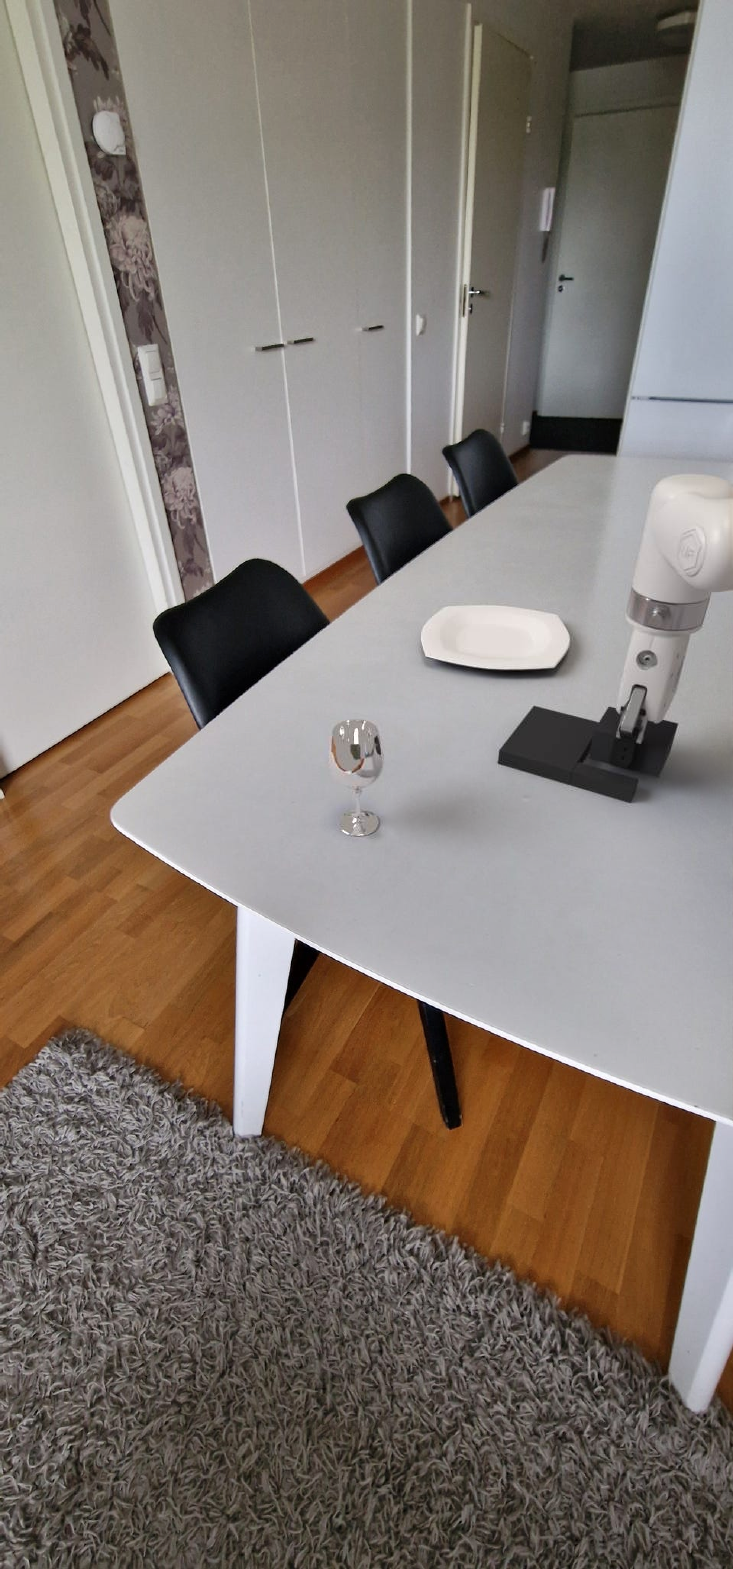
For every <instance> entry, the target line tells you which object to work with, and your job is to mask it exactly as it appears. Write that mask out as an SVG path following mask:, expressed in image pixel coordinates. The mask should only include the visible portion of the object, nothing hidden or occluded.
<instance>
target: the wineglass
mask: <svg viewBox="0 0 733 1569" xmlns="http://www.w3.org/2000/svg"><path fill="white" fill-rule="evenodd" d="M327 763H328V767H329V772H330V774H331V776H332V777H333V779H334V780H335V781H336V782H337V783H338V784H340V785H342V786H343V787H345V788H349V789H350V788H351V789H352V795H353V797H354V801H355V809H353V810H349V811H347V812H345V813H343V814H342V815H341V816H340V818H339V820H338V823H337V824H338V828H339V829H340V831H341V832H343V833H344V834H346V835H348V836H351V837H364V836H368V835H371V834H372V833H374V832H375V831H376V830H377V829H378V827H379V825H380V824H379V823H380V821H379V818H378V817H377V815H376V814H375V813H374V812H371V811H369V810H366V809H361V796H362V792H363V788H366V787H369V786H371V785H373V784H374V783H376V782H377V781H378V779H379V778H380V776H381V775H382V773H383V769H384V764H385V754H384V746H383V742H382V739H381V735H380V731H379V729H378V726H377V725H376V724H374V723H373V722H371V721H368V720H365V719H356V718H355V719H346V720H344V721H341V722H339V723H337V724H335V725H334V727H333V728H332V731H331V734H330V739H329V743H328V750H327Z"/></svg>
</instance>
